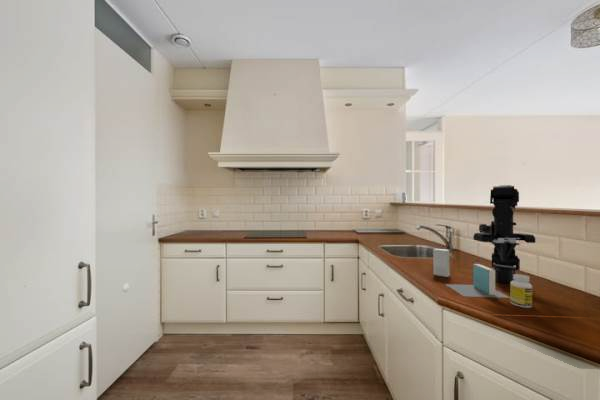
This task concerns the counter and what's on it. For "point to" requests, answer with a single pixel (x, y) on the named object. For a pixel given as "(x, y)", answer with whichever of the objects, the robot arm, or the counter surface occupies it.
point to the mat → (474, 291)
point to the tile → (484, 279)
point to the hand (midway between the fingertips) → (503, 260)
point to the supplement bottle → (521, 291)
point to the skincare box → (441, 262)
